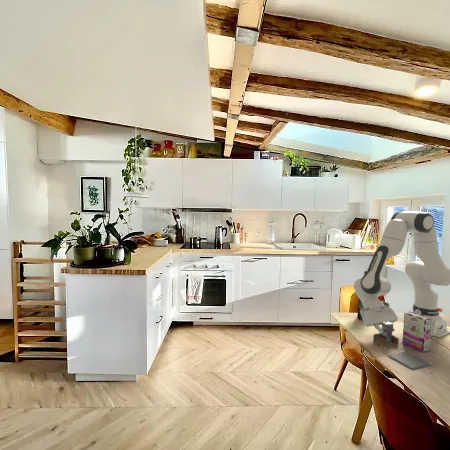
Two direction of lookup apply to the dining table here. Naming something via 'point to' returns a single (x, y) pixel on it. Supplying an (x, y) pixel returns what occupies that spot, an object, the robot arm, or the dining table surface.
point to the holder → (384, 340)
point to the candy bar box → (416, 331)
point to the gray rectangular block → (387, 331)
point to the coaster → (409, 360)
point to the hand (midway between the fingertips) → (387, 332)
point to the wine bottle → (360, 307)
